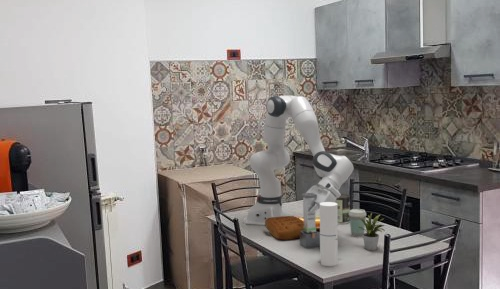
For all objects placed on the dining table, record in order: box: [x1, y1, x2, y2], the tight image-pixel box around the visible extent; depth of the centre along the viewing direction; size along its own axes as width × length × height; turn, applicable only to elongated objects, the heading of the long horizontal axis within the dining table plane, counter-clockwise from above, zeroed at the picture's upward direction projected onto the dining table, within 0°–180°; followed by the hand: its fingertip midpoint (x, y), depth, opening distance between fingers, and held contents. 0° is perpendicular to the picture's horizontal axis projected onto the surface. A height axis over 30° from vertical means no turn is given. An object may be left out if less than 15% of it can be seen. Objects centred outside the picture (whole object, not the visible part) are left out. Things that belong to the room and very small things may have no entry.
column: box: [300, 192, 317, 234], centre depth 226 cm, size 5×5×18 cm
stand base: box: [299, 230, 320, 250], centre depth 228 cm, size 12×12×8 cm
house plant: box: [357, 212, 386, 251], centre depth 224 cm, size 14×14×16 cm
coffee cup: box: [349, 208, 367, 238], centre depth 245 cm, size 8×8×12 cm
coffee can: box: [334, 193, 351, 225], centre depth 269 cm, size 10×10×14 cm
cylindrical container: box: [319, 202, 339, 267], centre depth 207 cm, size 7×7×25 cm
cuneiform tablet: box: [264, 215, 304, 241], centre depth 247 cm, size 22×17×8 cm
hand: (307, 210), depth 226 cm, fingers open, 5 cm apart
